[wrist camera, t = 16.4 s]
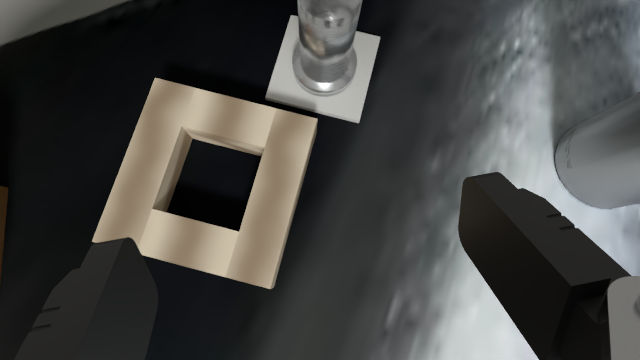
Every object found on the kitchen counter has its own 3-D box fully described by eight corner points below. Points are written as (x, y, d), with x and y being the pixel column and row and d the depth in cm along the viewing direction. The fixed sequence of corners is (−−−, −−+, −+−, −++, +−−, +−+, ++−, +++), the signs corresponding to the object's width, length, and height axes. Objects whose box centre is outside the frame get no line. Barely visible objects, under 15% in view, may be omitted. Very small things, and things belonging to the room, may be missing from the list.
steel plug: (362, 48, 42) (383, -34, 30) (345, 104, 41) (361, 40, 29) (303, 32, 42) (301, -57, 30) (284, 86, 41) (275, 16, 29)
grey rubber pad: (379, 40, 43) (380, 36, 42) (358, 123, 41) (359, 121, 40) (291, 18, 43) (291, 14, 43) (265, 99, 41) (265, 97, 40)
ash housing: (316, 131, 40) (317, 118, 37) (273, 287, 37) (270, 289, 34) (167, 93, 41) (155, 77, 38) (111, 244, 37) (91, 241, 34)
